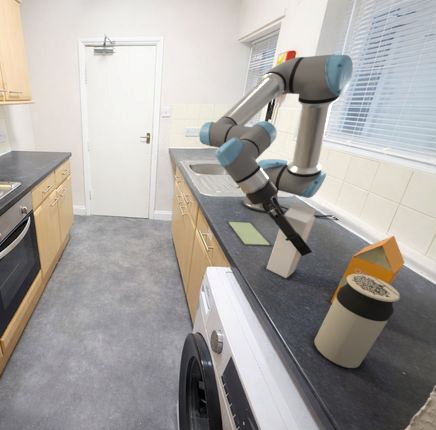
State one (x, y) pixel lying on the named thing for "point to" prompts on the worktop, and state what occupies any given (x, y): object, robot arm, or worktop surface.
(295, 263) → the milk
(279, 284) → the worktop surface
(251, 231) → the sage mat
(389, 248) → the orange juice
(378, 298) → the travel mug
